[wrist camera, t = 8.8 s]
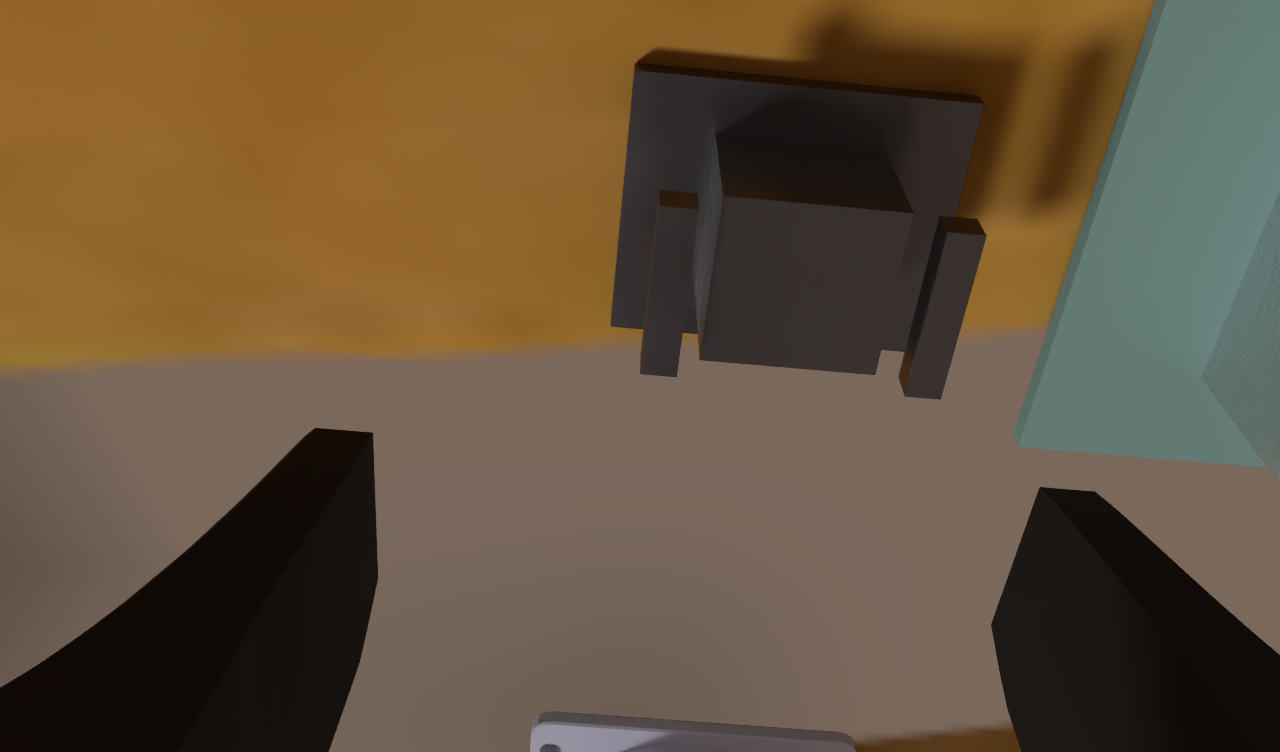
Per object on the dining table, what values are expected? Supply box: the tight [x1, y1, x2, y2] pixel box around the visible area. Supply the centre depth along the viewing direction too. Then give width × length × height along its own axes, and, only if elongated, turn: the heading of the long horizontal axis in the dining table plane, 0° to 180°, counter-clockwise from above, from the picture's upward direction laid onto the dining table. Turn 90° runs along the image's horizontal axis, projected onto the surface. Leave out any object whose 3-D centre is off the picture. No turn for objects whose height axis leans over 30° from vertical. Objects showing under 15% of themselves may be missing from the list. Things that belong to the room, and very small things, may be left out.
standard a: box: [611, 63, 986, 399], centre depth 20 cm, size 5×6×4 cm
